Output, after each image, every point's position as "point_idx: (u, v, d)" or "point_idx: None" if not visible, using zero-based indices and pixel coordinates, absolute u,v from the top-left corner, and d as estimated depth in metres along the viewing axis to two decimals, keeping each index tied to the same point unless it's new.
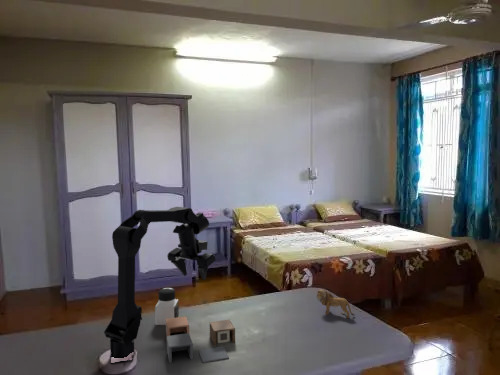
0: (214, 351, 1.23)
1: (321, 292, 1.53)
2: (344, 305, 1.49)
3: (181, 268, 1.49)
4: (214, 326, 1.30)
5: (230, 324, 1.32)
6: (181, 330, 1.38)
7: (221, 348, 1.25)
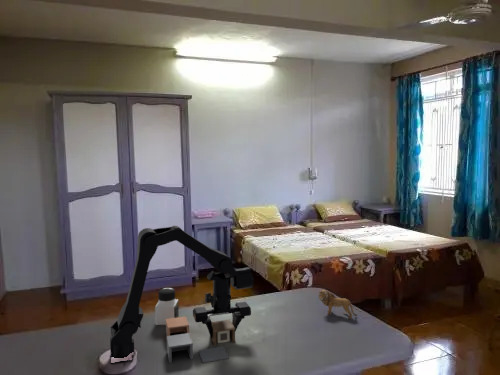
0: (214, 351, 1.23)
1: (323, 292, 1.52)
2: (346, 305, 1.49)
3: (211, 329, 1.29)
4: (214, 326, 1.30)
5: (230, 324, 1.32)
6: (181, 330, 1.38)
7: (221, 348, 1.25)
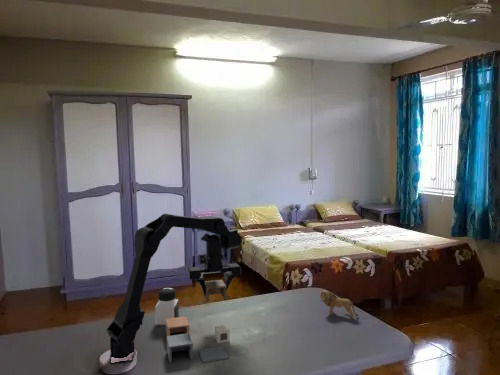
0: (214, 351, 1.23)
1: (325, 293, 1.52)
2: (348, 306, 1.48)
3: (204, 286, 1.39)
4: (207, 284, 1.40)
5: (222, 283, 1.42)
6: (181, 330, 1.38)
7: (221, 348, 1.25)
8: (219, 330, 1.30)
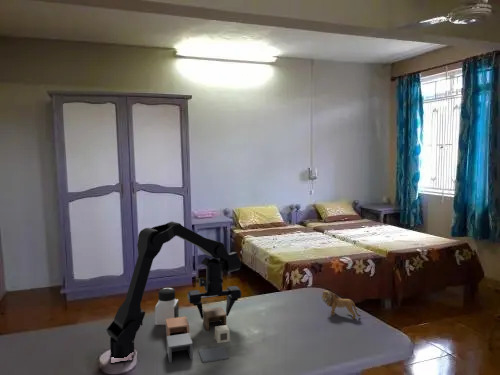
0: (214, 351, 1.23)
1: (326, 293, 1.52)
2: (350, 306, 1.48)
3: None
4: (207, 312, 1.41)
5: (222, 311, 1.43)
6: (181, 330, 1.38)
7: (221, 348, 1.25)
8: (219, 330, 1.30)
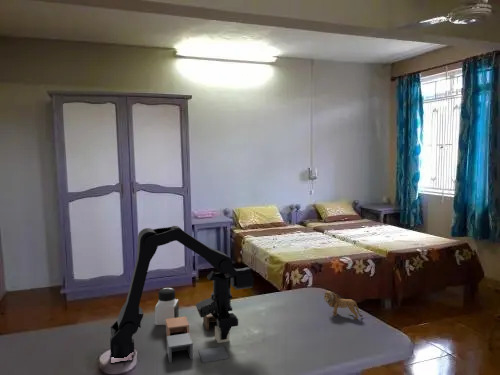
0: (214, 351, 1.23)
1: (329, 294, 1.51)
2: (352, 306, 1.48)
3: None
4: None
5: None
6: (181, 330, 1.38)
7: (221, 348, 1.25)
8: (219, 329, 1.30)
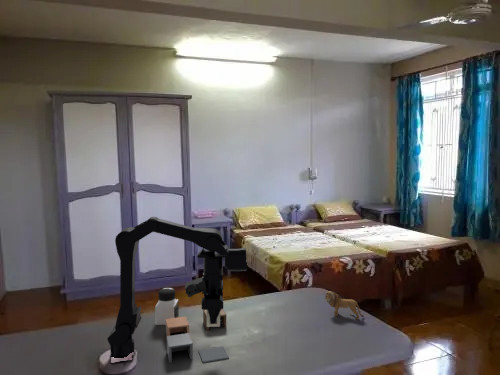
0: (214, 351, 1.23)
1: (330, 294, 1.51)
2: (353, 306, 1.48)
3: None
4: None
5: (222, 311, 1.43)
6: (181, 330, 1.38)
7: (221, 348, 1.25)
8: None
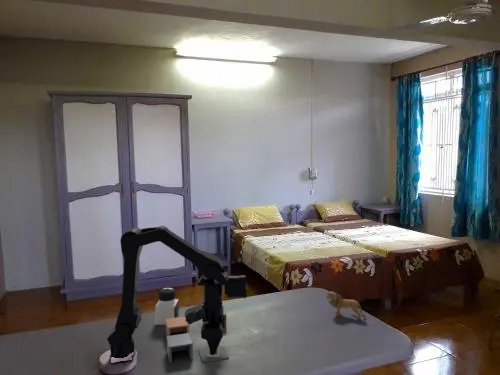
0: None
1: (331, 294, 1.51)
2: (355, 307, 1.48)
3: None
4: None
5: None
6: (181, 330, 1.38)
7: (221, 348, 1.25)
8: None
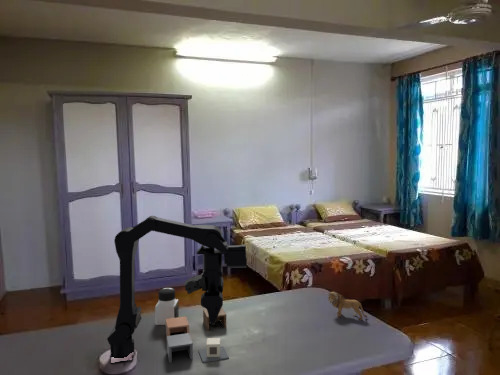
0: None
1: (333, 294, 1.50)
2: (357, 307, 1.47)
3: None
4: (207, 312, 1.41)
5: (222, 311, 1.43)
6: (181, 330, 1.38)
7: (221, 348, 1.25)
8: (209, 343, 1.20)
